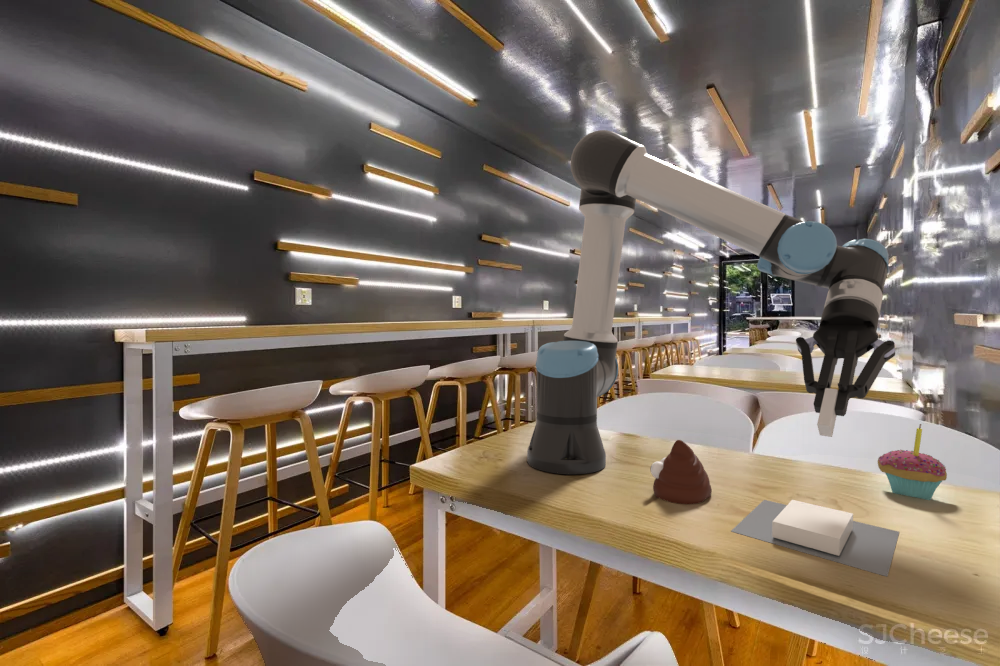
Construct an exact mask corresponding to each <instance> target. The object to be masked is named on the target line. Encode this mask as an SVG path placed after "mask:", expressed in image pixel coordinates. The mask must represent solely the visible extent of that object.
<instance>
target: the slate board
mask: <svg viewBox="0 0 1000 666" xmlns="http://www.w3.org/2000/svg"><path fill="white" fill-rule="evenodd" d="M787 505H788V504H784V503H780V502H776V501H772V500H767V499H763V500H762V501H761V502H760V503H759V504H758V505H756V506H755V508H753V509H752V511H751V512H749V513H748V514H747V515H746V516H745V517H744V518H743V519H742V520H741V521H740V522H738V523H737V525H735V526H734V528H732V529H731V530H730V532H731V533H735V534H738V535H741V536H745V537H747V538H748V537H749V538H753V539H755V540H758V541H763V542H765V543H770V544H773V545H777V546H780V547H783V548H787V549H790V550H793V551H798V552H800V553H804V554H807V555H811V556H814V557H817V558H821V559H824V560H827V561H831V562H833V563H834V562H835V563H838V564H842V565H845V566H849V567H852V568H855V569H859V570H862V571H866V572H869V573H873V574H875V575H876V574H877V575H879V576H883V577H886V578H887V577H889V572H890V568H891V565H892V561H893V557H894V554H895V550H896V548H897V547H896V546H897V542H898V539H899V535H900V531H898V530H893V529H889V528H885V527H881V526H878V525H877V526H876V525H872V524H869V523H865V522H860V521H856V520H853V529H852V531H851V533H850V535H849V537H848V539H847V541H846V543H845V545H844V547H843V549H842V551H841V553H840V555H839V556H838V555H834V554H831V553H827V552H824V551H820V550H816V549H813V548H809V547H806V546H802V545H799V544H795V543H792V542H788V541H785V540H781V539H778V538H774V537H772V521H773V520H774V519H775V518H776V517H777V516H778V515H779V514H780V512H781V511H782V510H783V509H784V508H785V507H786V506H787Z"/></svg>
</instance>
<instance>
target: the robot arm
mask: <svg viewBox="0 0 1000 666" xmlns="http://www.w3.org/2000/svg"><path fill="white" fill-rule="evenodd" d="M647 151H648V150H647V149H646V145H645V146H644V144H640V143H638V142H636V141H634V140H631V139H629V138H628V137H625V136H624V135H621V134H619V133H617V132H614V131H612V130H607V129H606V130H605V129H599V130H595V131H594V130H593V131H592V132H590V133H587V134H586V135H584V136H583V137H582V138H581V139H580V140H579V141H578V142H577V144H576V145H575V147H574V148H573V150H572V153H571V155H570V156H571V157H570V171H571V174H572V176H573V179H574V181H575V182H576V184H577V185H579V187H580V196H579V203H578V204H579V205H578V209H579V212H580V213H581V214H582V215H583V216H584V222H583V223H584V224H583V230H582V231H583V232H582V240H581V249H580V259H579V266H578V272H577V273H578V274H577V283H576V291H575V297H574V298H575V299H574V306H573V307H574V308H573V316H572V322H571V323H572V324H571V327H570V328H569V329H568V330H567V331H566V332H565V333H564V334H563V340H558V341H552V342H547V343H545V344H542V345H541V346H540V347H539V348H538V350H537V353H536V355H537V356H536V361H535V368H536V370H535V374H536V387H535V388H536V422H535V427H534V429H533V432H532V434H531V435H532V436H531V438H530V441H529V445H528V447H527V454H526V457H527V458H526V460H527V461H526V462H527V463H528V465H529V466H530V467H531V468H533V469H536V470H538V471H542V472H546V473H549V474H560V475H582V474H583V475H584V474H592V473H595V472H599V471H601V470H603V469H605V467H606V464H607V463H606V462H607V460H606V457H607V455H606V453H607V452H606V450H605V447H604V444H603V440H602V436H601V433H600V431H599V426H598V398H599V397H601V396H603V395H604V394H607V392H609V391H610V390H611V388H612V387H613V386H614V385H615V383H616V380H617V378H618V375H619V363H618V359H617V357H616V356H617V348H618V340H619V339H617V337H616V336H615V335H614V334H613V331H612V330H613V324H614V316H615V310H616V309H615V308H616V299H617V292H618V285H619V284H618V283H619V276H620V267H621V261H622V260H621V259H622V254H623V253H622V252H623V245H624V235H625V228H626V221H627V220H628V219H629V218H630V217H631V216H632V215H633V214H634V213H635V208H636V200H637V201H639V202H642V203H644V204H645V205H649V206H650V207H652V208H654V209H657V210H659V211H661V212H663V213H665V214H667V215H670V216H671V217H673V218H676V219H679V220H680V221H682V222H685V223H687V224H689V225H691V226H693V227H695V228H698V229H700V230H701V231H704V232H706V233H709V234H710V235H712V236H715V237H717V238H719V239H721V240H723V241H726V242H728V243H730V244H732V245H734V246H736V247H739V248H741V249H743V250H745V251H746V252H747V251H748V252H749V253H752V254H754V255H756V256H758V257H759V259H758V261H757V264H756V267H757V269H758V271H760V272H761V273H765V274H769V275H771V276H773V277H779V278H784V279H788V280H792V281H795V282H796V281H797V282H800V283H805V284H809V285H811V286H812V285H813V286H816V287H820V288H824V289H827V290H828V292H827V295H826V299H825V302H824V306H823V310H822V314H821V317H820V321H819V326H818V329H816V330H815V331H814V332H813V335H812V336H810V337H807V338H804V337H802V336H799V337H796V338H795V342H796V347H797V351H798V352H799V354H800V355H801V361H802V372H803V381H804V385H805V390H806V392H807V393H808V394H815V396H814V399H813V400H814V401H813V410H814V412H815V413H816V414H818V418H817V419H818V420H817V422H816V423H817V424H816V425H817V430H818V433H819V436H821V437H822V436H823V437H828V438H833V435H834V430H835V426H836V420H837V417H838V416H839V417H844V416H846V414H847V411H848V405H849V400H850V399H852V398H857V399H864V398H866V396H867V395H868V393H869V391H870V390H871V387H872V386H873V384H874V383H875V381H876V379H877V377H878V375H879V374H880V373H881V370H882V369H883V367H884V365H885V364H886V363H888V362H889V360H891V359H893V358H894V357H895V356H896V348H895V345H896V344H895V342H894V341H893V340H891V339H889V340H885V341H884V340H882V339H880V338H879V335H878V333H877V331H878V325H879V320H880V319H879V318H880V315H881V309H882V303H883V297H884V295H883V294H884V288H885V285H886V279H887V274H888V273H889V261H890V260H889V252H888V249H887V248H886V246H884V245H883V244H882V243H881V242H879V241H878V240H873V239H871V238H861V239H853V240H850V241H848V242H845V243H844V244H843V245H842V246H841V245H838V244H837V243H838V242H837V237H836V235H835V233H834V232H833V230H832V229H831V228H830V227H829V226H827V225H826V224H825V223H822V222H820V221H819V222H818V221H809V220H808V221H803V220H801V219H799V218H797V217H793V216H792V215H788V214H786V213H784V212H783V211H780V210H777V209H775V208H773V207H771V206H770V205H769V206H768V205H766V204H763V203H762V202H759V201H756V200H754V199H752V198H750V197H748V196H745V195H743V194H740V193H738V192H737V191H733V190H732V189H729V188H727V187H725V186H723V185H720V184H718V183H715V182H712V181H711V180H708V179H706V178H704V177H701V176H698V175H696V174H695V173H692V172H689V171H687V170H686V169H683V168H680V167H678V166H675V165H673V164H672V163H669V162H666V161H664V160H662V159H659V158H657V157H655V156H652V155H650V154H648V152H647ZM814 346H817V348H818V349H820V351H821V352H822V353H823V354H824V355H823V359H822V363H821V367H820V371H819V376H818V379H817V380H815V372H814V365H813V357H812V354H811V353H813V351H814V350H815V347H814ZM872 350H873V351H872ZM870 351H872V353H871V355H870V357H869V358H868V360H867V362H866V363H865V365H864V367H863V368H862V370H861V372H860V373H859V375H858V376H857V378H856V379H855V382H854V378H855V373H856V368H857V365H858V361H859V358H861V357H863V356H864V355H865V354H867V353H869V352H870ZM839 359H843V362H842V366H841V371H840V376H839V380H838V382H837V388H831V387H832V384H833V380H834V379H833V378H834V375H835V370H836V366H837V363H838V360H839Z"/></svg>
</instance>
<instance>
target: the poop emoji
mask: <svg viewBox="0 0 1000 666" xmlns="http://www.w3.org/2000/svg"><path fill="white" fill-rule="evenodd" d="M649 468H650V473H651V475H652V477H653V478H654V481H653V486H652V490H653V491H652V492H653V493H654V496H655V498H657V499H661V500H663V501H665V502H668V503H673V504H678V505H679V504H680V505H696V504H700V503H702V502H705V501H706V499H709V498H710V497H711V495H712V490H713V489H712V485H711V483H710V482H711V481H710V478H709V477H710V476H709V475H708V473H707V472H706V470H705V467H704V466H703V463H702V462H701V461H700V460H699V457H698V455H696V454H695V452H694V451H693V449H692V448H691V447H690V446H689V445H688V444H687V443H685V442H684V440H681V439H677V440H675V442H674V443H673V445H672V447H671V449H670V452H669V453H668V454H667V455H666V456H665V457H663V458H661V459H660V460H659V461H658V460H657V461H654V462H653V463H652V464H651V465H650V467H649Z"/></svg>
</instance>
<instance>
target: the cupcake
mask: <svg viewBox="0 0 1000 666" xmlns="http://www.w3.org/2000/svg"><path fill="white" fill-rule="evenodd" d="M922 432H923V428H922V423H920V424H919V427H917V428H916V431H915V438H914V447H913V450H908V449H907V450H903V449H900V450H899V449H897V450H891V451H888V452H886V453H883V454H882V455H880V456H878V458H877V466H878V469H879V470H880V472H882V473H884V474H885V475H886V478H887V480H888V483H889V485H890V486H889V487H890V489H891V492H892V493H893V494H897V495H902V496H905V497H906V496H907V497H912V498H917V499H922V500H928V501H931V500H932V498H933V496H934V493H935V492H936V489H937V488H938V487H939V486H940V484H941V483H942V482H943V481H946V480H947V479H948V474H947V468H946V466H945V465H944V463H942V462H940V459H937V458H935V457H933V456H932V455H930V454H928V453H927V454H925V453H924V452H923V453H920V447H921V441H922V434H923V433H922Z"/></svg>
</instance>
